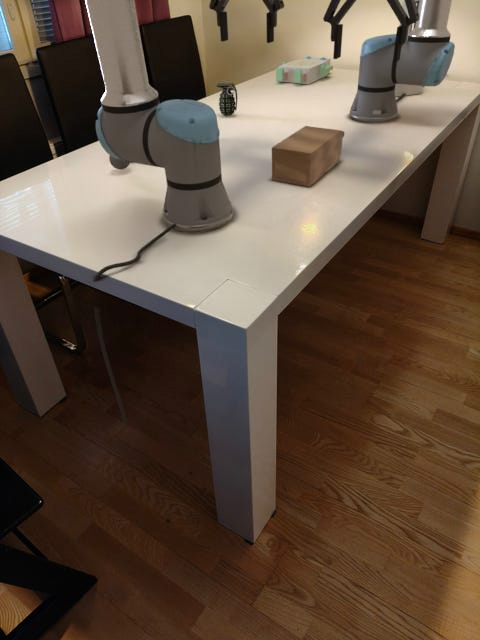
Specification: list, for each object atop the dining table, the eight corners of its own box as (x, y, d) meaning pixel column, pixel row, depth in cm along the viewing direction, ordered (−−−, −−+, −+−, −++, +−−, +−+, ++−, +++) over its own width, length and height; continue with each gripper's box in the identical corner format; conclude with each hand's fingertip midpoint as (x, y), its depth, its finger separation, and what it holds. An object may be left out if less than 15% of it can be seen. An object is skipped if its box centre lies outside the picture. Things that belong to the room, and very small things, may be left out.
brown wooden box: (304, 156, 134) (305, 125, 130) (339, 161, 130) (342, 130, 125) (271, 179, 122) (271, 147, 117) (309, 186, 118) (310, 153, 113)
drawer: (319, 143, 139) (320, 121, 135) (349, 148, 135) (351, 124, 131) (280, 171, 124) (280, 147, 120) (313, 177, 120) (314, 152, 116)
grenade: (217, 117, 168) (214, 86, 162) (221, 112, 172) (219, 82, 166) (235, 117, 166) (233, 86, 160) (239, 113, 171) (238, 82, 165)
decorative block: (298, 54, 217) (339, 57, 208) (298, 70, 221) (338, 74, 211) (267, 65, 201) (310, 69, 191) (267, 82, 205) (309, 87, 195)
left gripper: (298, -65, 113) (296, 40, 126) (206, -59, 123) (213, 37, 136) (285, -64, 108) (284, 45, 121) (190, -58, 118) (199, 42, 131)
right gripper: (311, -57, 98) (307, 59, 112) (439, -65, 88) (418, 65, 101) (325, -59, 104) (320, 53, 117) (447, -66, 93) (427, 58, 106)
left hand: (247, 41), depth 128 cm, fingers open, 13 cm apart
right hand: (365, 59), depth 109 cm, fingers open, 13 cm apart
